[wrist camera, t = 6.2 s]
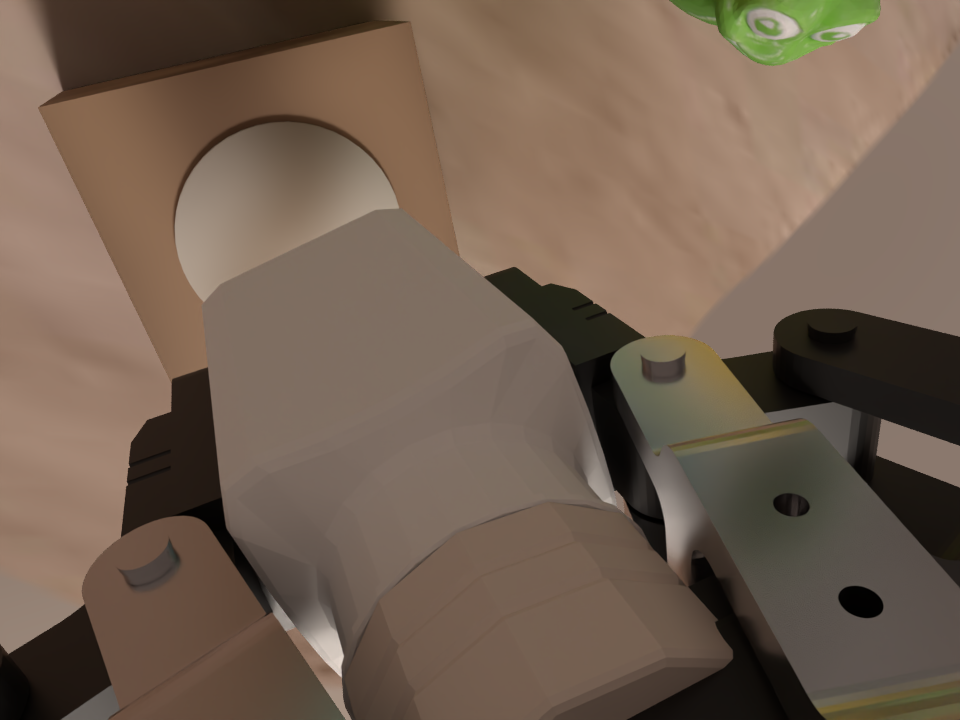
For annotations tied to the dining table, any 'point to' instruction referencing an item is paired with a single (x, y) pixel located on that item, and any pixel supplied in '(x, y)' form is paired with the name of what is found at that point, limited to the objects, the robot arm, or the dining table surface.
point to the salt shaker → (435, 491)
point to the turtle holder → (783, 24)
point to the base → (247, 164)
